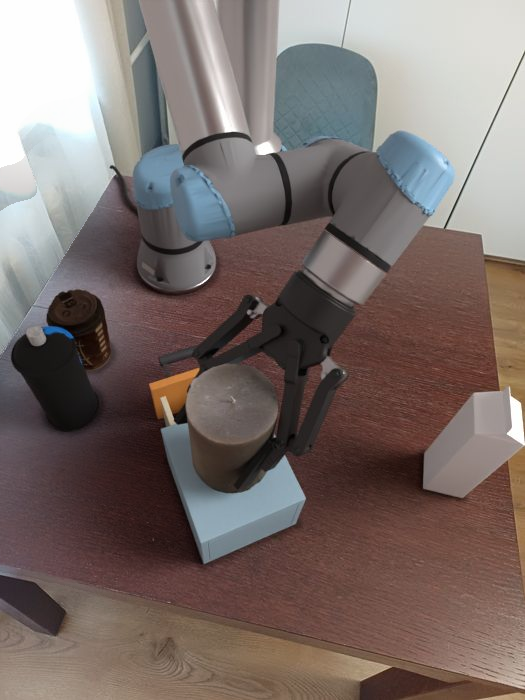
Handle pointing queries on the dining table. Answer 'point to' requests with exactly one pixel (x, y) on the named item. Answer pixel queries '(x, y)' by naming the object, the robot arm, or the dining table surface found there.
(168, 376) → the orange drawer
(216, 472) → the pillar candle
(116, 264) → the dining table surface
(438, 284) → the dining table surface
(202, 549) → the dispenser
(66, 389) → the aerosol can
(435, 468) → the milk
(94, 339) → the coffee cup
